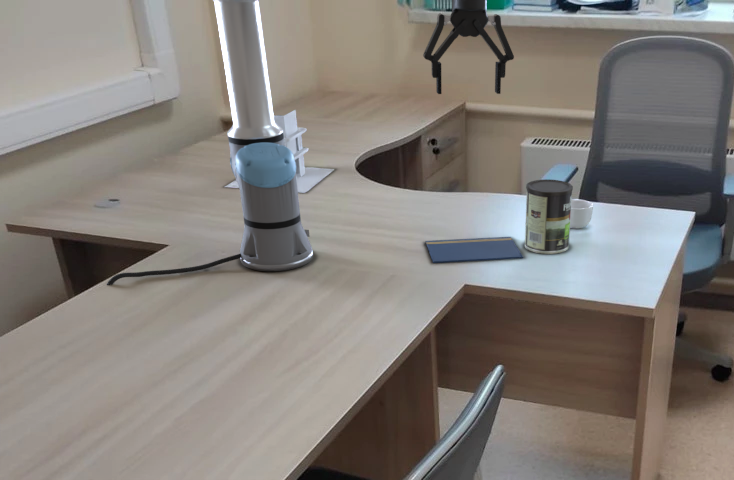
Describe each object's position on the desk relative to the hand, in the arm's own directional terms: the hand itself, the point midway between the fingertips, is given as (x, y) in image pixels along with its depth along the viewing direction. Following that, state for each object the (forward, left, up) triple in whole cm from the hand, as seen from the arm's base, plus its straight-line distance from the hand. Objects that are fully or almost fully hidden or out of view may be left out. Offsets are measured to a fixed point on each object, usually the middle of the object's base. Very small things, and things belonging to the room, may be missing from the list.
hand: (468, 93), depth 192 cm
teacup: (+26, -7, -30) cm, 40 cm away
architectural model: (-45, +43, -30) cm, 70 cm away
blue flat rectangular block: (-2, -21, -30) cm, 37 cm away
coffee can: (+15, -21, -30) cm, 39 cm away
